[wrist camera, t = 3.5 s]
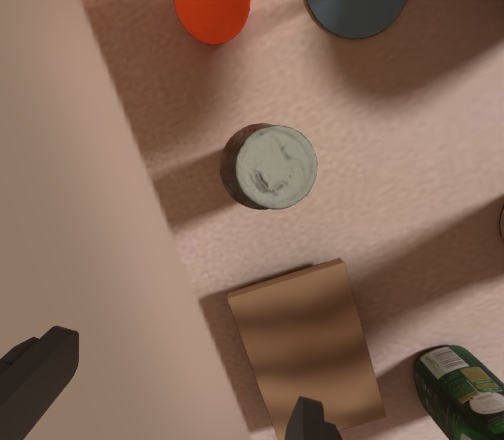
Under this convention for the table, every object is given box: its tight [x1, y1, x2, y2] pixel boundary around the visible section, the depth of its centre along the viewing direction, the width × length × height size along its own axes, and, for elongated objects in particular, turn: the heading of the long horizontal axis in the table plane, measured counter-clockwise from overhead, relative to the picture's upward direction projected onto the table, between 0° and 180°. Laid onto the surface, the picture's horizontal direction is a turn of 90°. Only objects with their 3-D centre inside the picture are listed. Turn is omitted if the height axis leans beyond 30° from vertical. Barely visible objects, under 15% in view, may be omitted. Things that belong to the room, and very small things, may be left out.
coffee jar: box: [414, 346, 504, 440], centre depth 30 cm, size 10×8×19 cm
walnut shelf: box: [227, 258, 386, 440], centre depth 36 cm, size 20×13×4 cm, turn 18°
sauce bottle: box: [220, 123, 317, 210], centre depth 24 cm, size 6×6×20 cm
